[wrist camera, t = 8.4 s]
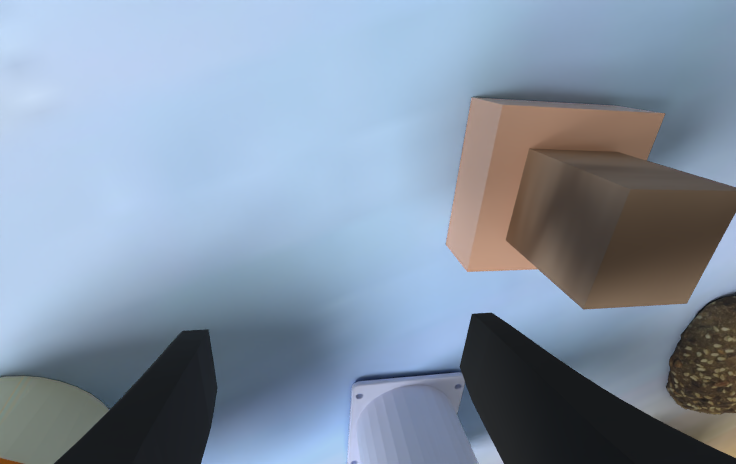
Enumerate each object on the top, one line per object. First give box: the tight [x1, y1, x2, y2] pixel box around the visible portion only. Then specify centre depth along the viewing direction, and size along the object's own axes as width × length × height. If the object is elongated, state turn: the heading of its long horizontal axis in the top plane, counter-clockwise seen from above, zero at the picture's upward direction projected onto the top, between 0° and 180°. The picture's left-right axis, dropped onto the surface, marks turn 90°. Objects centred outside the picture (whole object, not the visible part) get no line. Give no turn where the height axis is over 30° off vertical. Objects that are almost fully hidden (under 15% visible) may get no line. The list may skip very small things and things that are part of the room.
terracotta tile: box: [446, 97, 665, 272], centre depth 19 cm, size 8×8×3 cm
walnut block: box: [506, 149, 736, 309], centre depth 15 cm, size 4×4×6 cm
